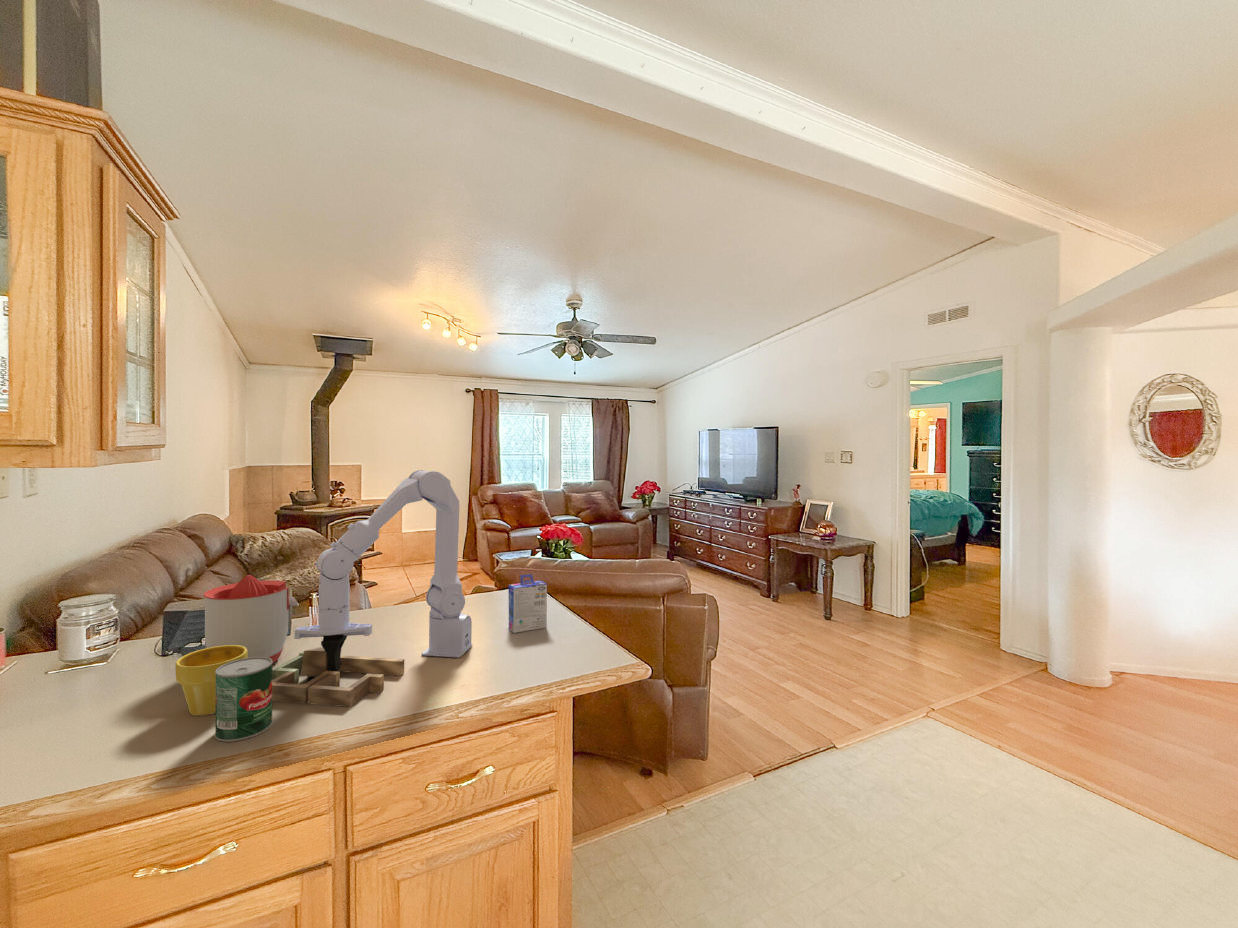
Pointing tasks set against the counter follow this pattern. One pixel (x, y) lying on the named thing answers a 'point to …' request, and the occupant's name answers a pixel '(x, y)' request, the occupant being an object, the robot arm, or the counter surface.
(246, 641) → the citrus juicer
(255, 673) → the canned tomato
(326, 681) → the trap lane
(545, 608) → the ink cartridge box
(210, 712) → the plant pot
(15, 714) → the counter surface
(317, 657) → the walnut block
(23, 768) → the counter surface
